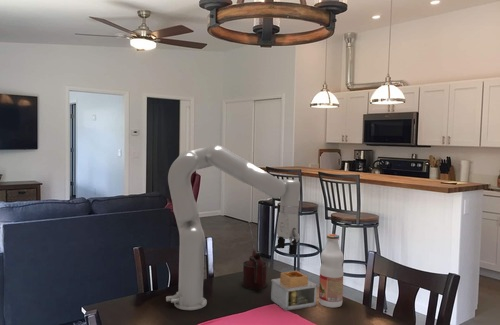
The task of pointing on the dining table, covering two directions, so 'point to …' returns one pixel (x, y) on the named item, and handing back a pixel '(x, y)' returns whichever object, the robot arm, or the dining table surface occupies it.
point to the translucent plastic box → (286, 283)
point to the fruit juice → (331, 274)
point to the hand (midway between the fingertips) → (286, 251)
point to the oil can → (254, 269)
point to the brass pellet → (292, 296)
